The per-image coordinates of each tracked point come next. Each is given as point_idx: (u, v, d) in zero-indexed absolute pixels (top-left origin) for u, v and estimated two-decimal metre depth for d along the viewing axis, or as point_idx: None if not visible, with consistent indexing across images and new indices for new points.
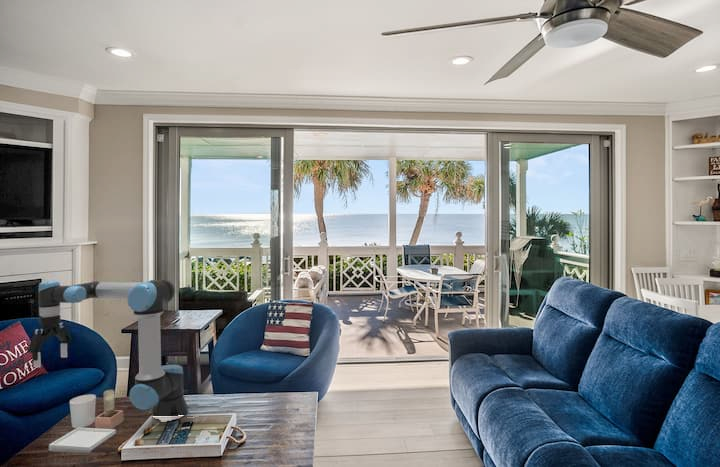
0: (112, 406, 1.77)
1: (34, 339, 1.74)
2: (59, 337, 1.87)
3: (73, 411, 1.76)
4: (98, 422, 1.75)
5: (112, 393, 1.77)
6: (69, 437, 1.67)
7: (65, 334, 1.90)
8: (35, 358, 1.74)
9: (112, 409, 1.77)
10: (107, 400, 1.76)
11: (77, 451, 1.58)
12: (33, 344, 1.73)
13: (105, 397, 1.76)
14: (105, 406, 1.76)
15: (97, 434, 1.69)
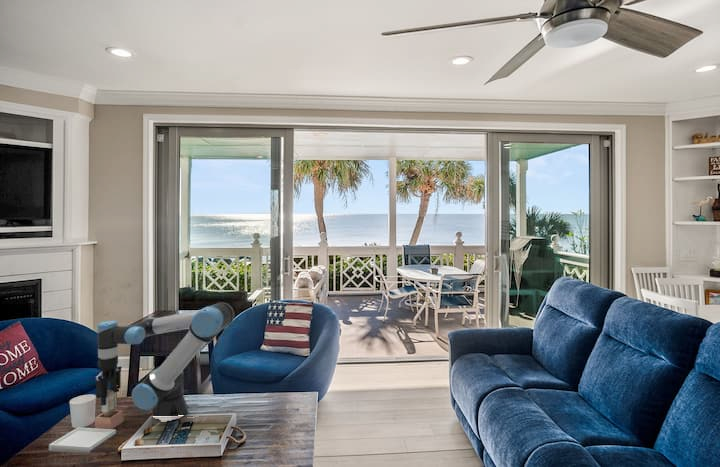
0: (112, 406, 1.77)
1: (98, 386, 1.72)
2: (111, 382, 1.80)
3: (73, 411, 1.76)
4: (98, 422, 1.75)
5: (112, 393, 1.77)
6: (69, 437, 1.67)
7: (117, 380, 1.82)
8: (104, 403, 1.74)
9: (112, 409, 1.77)
10: None
11: (77, 451, 1.58)
12: (99, 390, 1.72)
13: None
14: None
15: (97, 434, 1.69)
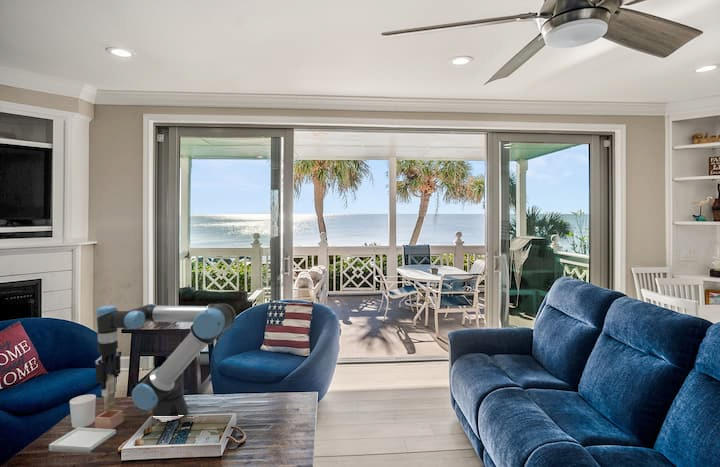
0: (112, 390, 1.77)
1: (98, 370, 1.72)
2: (111, 367, 1.80)
3: (73, 411, 1.76)
4: (98, 422, 1.75)
5: (112, 377, 1.77)
6: (69, 437, 1.67)
7: (116, 365, 1.82)
8: (104, 387, 1.74)
9: (112, 393, 1.77)
10: None
11: (77, 451, 1.58)
12: (99, 374, 1.72)
13: None
14: None
15: (97, 434, 1.69)
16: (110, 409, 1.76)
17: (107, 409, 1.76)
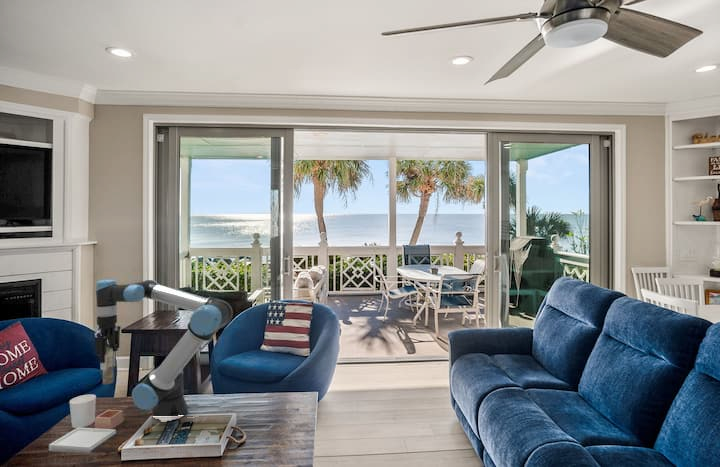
0: (111, 363, 1.77)
1: (97, 343, 1.72)
2: (110, 341, 1.79)
3: (73, 411, 1.76)
4: (98, 422, 1.75)
5: (111, 350, 1.77)
6: (69, 437, 1.67)
7: (115, 339, 1.82)
8: (102, 361, 1.74)
9: (111, 366, 1.77)
10: None
11: (77, 451, 1.58)
12: (98, 347, 1.72)
13: None
14: None
15: (97, 434, 1.69)
16: (109, 382, 1.76)
17: (106, 382, 1.76)
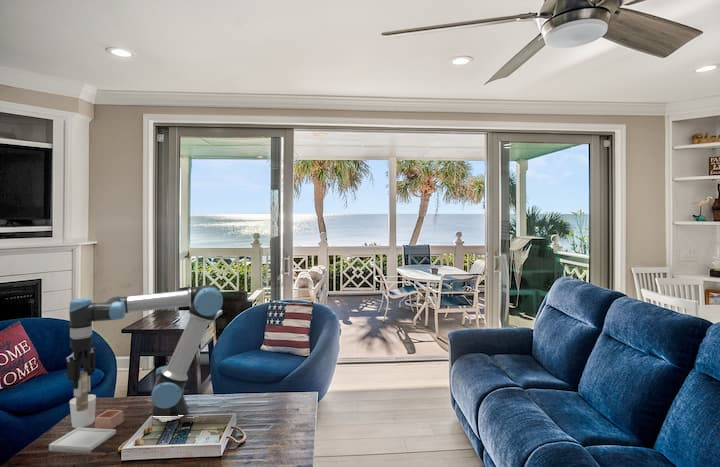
0: (85, 388, 1.64)
1: (69, 367, 1.59)
2: (85, 365, 1.67)
3: (73, 411, 1.76)
4: (98, 422, 1.75)
5: (85, 374, 1.64)
6: (69, 437, 1.67)
7: (91, 362, 1.69)
8: (76, 386, 1.61)
9: (85, 392, 1.64)
10: None
11: (77, 451, 1.58)
12: (71, 373, 1.59)
13: None
14: None
15: (97, 434, 1.69)
16: (83, 409, 1.64)
17: (79, 409, 1.63)
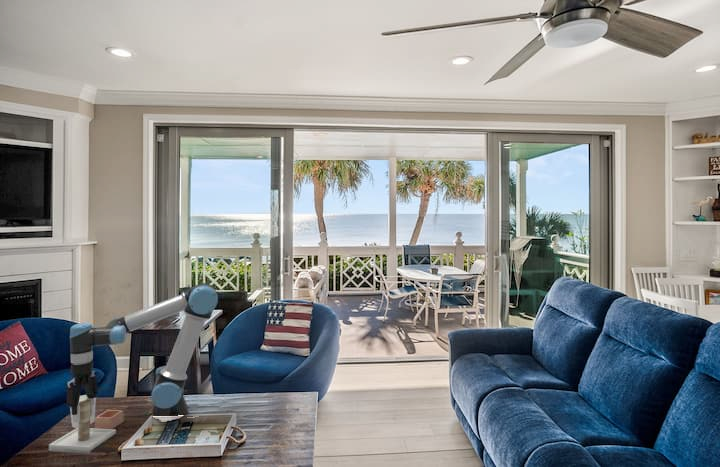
0: (87, 418, 1.65)
1: (69, 393, 1.59)
2: (87, 389, 1.67)
3: None
4: (98, 422, 1.75)
5: (88, 404, 1.65)
6: (69, 437, 1.67)
7: (93, 385, 1.70)
8: (75, 412, 1.61)
9: (87, 421, 1.65)
10: (82, 411, 1.64)
11: (77, 451, 1.58)
12: (70, 398, 1.59)
13: (80, 408, 1.64)
14: (80, 418, 1.64)
15: (97, 434, 1.69)
16: (84, 438, 1.64)
17: (81, 438, 1.64)
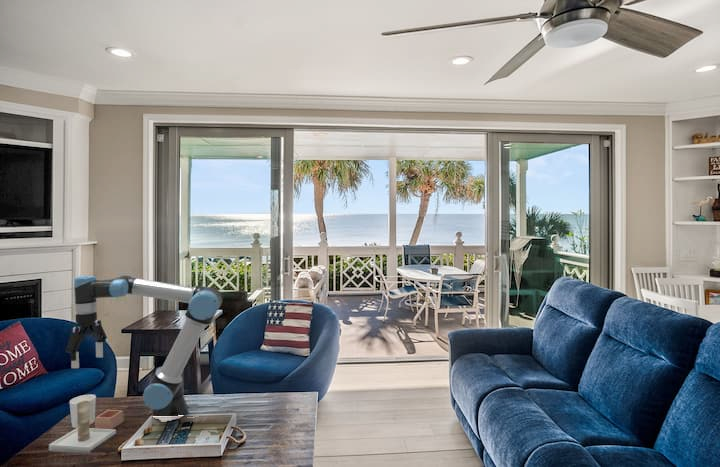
0: (86, 418, 1.65)
1: (72, 338, 1.62)
2: (95, 336, 1.75)
3: (73, 411, 1.76)
4: (98, 422, 1.75)
5: (86, 404, 1.65)
6: (69, 437, 1.67)
7: (100, 332, 1.78)
8: (73, 358, 1.62)
9: (86, 422, 1.65)
10: (80, 412, 1.63)
11: (77, 451, 1.58)
12: (71, 343, 1.61)
13: (79, 409, 1.63)
14: (79, 419, 1.63)
15: (97, 434, 1.69)
16: (84, 439, 1.64)
17: (81, 439, 1.63)
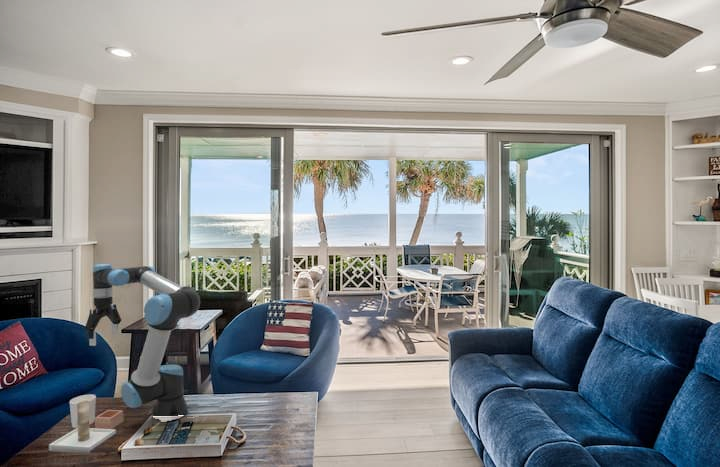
0: (86, 418, 1.65)
1: (90, 318, 1.83)
2: (110, 318, 1.96)
3: (73, 411, 1.76)
4: (98, 422, 1.75)
5: (86, 404, 1.65)
6: (69, 437, 1.67)
7: (115, 315, 1.98)
8: (91, 336, 1.83)
9: (86, 422, 1.65)
10: (80, 412, 1.63)
11: (77, 451, 1.58)
12: (89, 323, 1.82)
13: (79, 409, 1.63)
14: (79, 418, 1.63)
15: (97, 434, 1.69)
16: (84, 439, 1.64)
17: (81, 439, 1.63)
